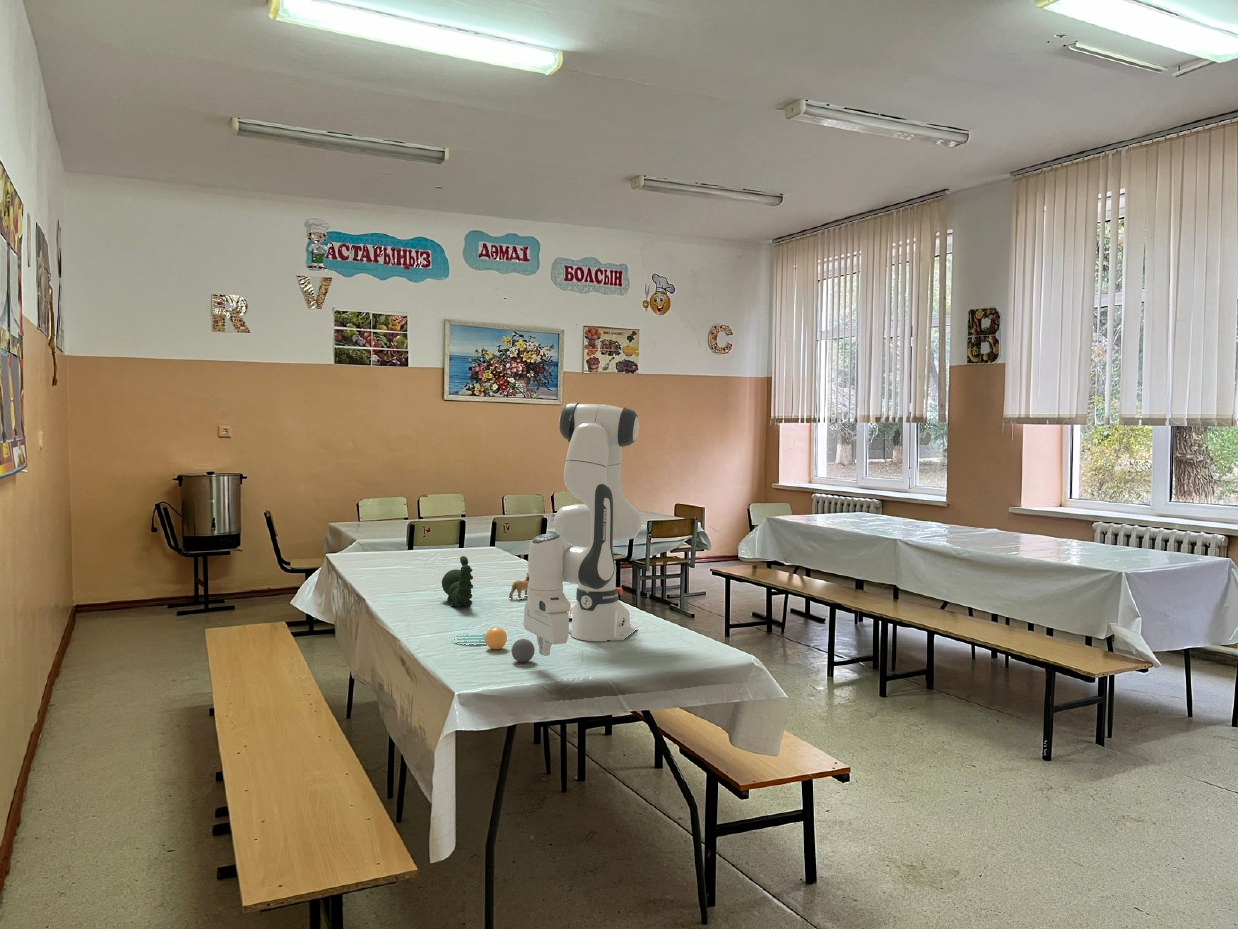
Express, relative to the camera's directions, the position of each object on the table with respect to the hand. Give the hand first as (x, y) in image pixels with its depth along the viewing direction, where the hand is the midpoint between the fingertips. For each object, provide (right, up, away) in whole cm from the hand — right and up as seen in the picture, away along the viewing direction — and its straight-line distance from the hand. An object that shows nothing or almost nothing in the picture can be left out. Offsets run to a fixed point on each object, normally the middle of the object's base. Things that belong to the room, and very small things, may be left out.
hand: (544, 654), depth 208 cm
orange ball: (-15, 0, +21) cm, 26 cm away
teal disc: (-22, -3, +30) cm, 38 cm away
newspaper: (+2, -3, +65) cm, 66 cm away
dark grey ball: (-6, -1, +9) cm, 11 cm away
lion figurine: (-16, -1, +91) cm, 92 cm away
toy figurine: (-37, -1, +78) cm, 86 cm away
